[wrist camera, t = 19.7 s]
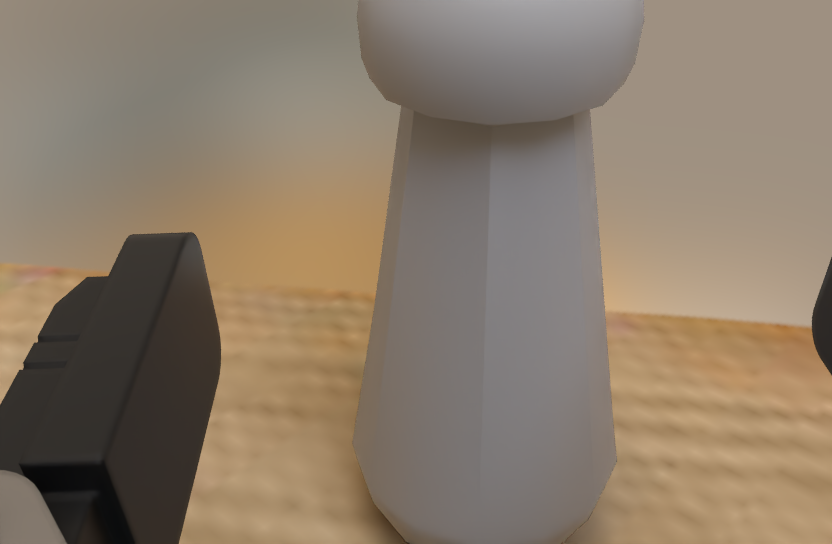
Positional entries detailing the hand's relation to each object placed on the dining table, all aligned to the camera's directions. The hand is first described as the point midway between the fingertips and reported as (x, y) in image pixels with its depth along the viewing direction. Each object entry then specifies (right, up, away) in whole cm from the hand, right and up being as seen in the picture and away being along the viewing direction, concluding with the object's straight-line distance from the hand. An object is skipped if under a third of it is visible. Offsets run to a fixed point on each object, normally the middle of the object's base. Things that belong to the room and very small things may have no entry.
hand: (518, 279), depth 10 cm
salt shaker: (0, -6, +9) cm, 11 cm away
